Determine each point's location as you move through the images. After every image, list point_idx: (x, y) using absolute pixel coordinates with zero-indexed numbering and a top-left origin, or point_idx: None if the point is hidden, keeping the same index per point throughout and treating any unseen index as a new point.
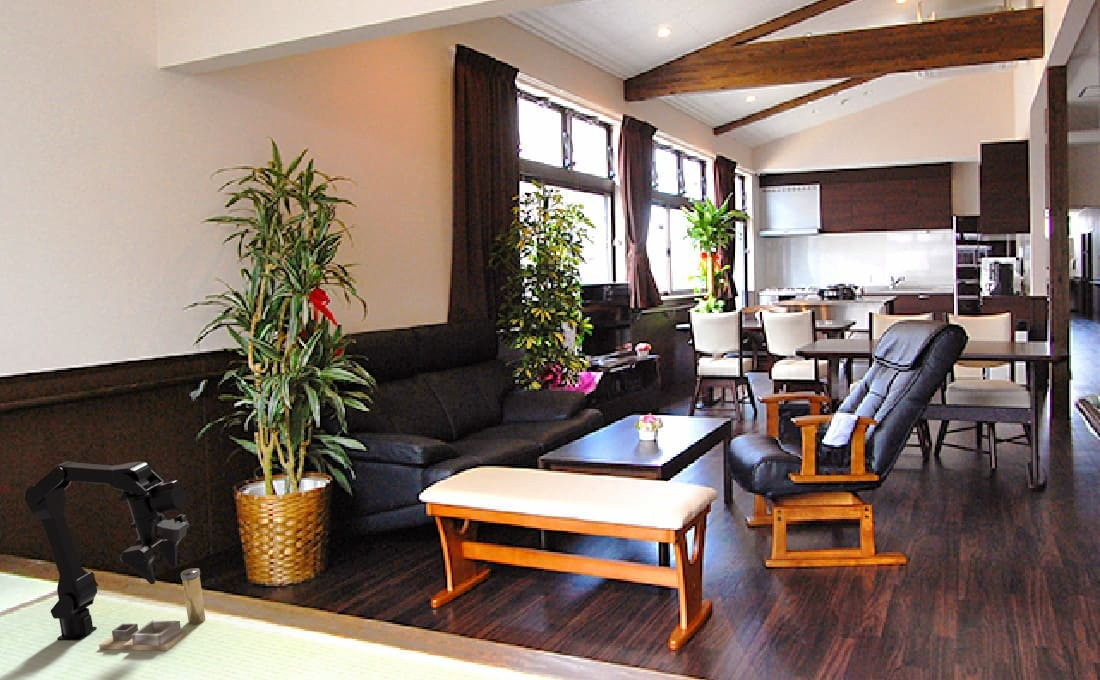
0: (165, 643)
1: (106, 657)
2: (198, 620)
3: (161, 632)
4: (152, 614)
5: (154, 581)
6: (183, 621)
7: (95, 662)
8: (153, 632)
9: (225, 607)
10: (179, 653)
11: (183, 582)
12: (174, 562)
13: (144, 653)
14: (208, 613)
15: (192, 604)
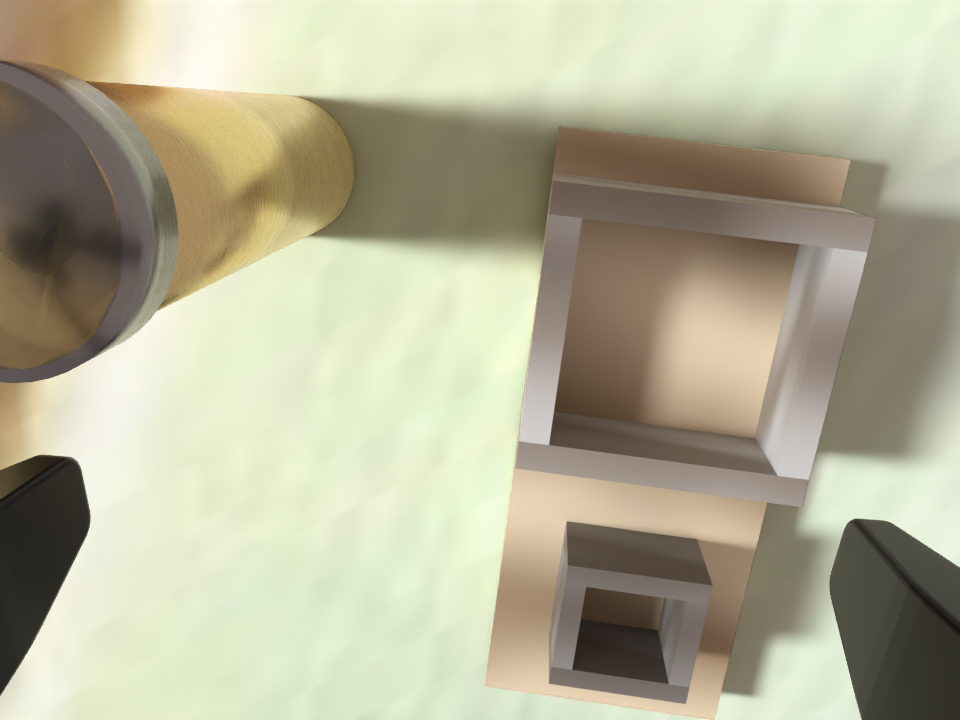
0: (800, 194)
1: None
2: (329, 122)
3: (803, 243)
4: (168, 593)
5: (903, 537)
6: (280, 295)
7: None
8: (562, 410)
9: (8, 33)
10: (896, 17)
11: (173, 288)
12: (8, 518)
13: None
14: None
15: (295, 159)
